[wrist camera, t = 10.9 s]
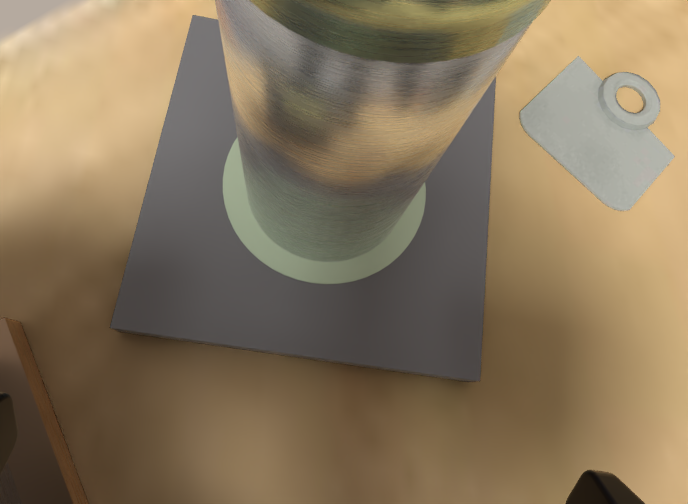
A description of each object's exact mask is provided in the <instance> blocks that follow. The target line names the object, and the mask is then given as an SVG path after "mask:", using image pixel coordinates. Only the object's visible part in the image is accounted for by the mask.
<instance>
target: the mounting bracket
mask: <svg viewBox="0 0 688 504" xmlns="http://www.w3.org/2000/svg"><path fill="white" fill-rule="evenodd" d="M622 87H628V88H632V89H633V90H635V91H636V92H638V93H639V95H640V96H641V97H642V100H643V102H644V106H643V110H642V111H641V112H640V113H631V112H628V111H626V110H624V109H623V108H622V107H621V106H620V105H619V104H618V101H617V99H616V92H617V90H618V89H619V88H622ZM659 112H660V99H659V97H658V95H657V92H656V90H655V89H654V88H653V86H652V85H651V84H650V83H649V82H648V81H647V80H645V79H644V78H642V77H641V76H639V75H636V74H633V73H629V72H622V73H615V74H613V75H611V76H609V77H608V78H606V79H604V80H603V81H602V80H601V79H600V78H599V77H598V76H597V75H596V74H595V73H594V72H593V70H592V69H591V68H590V67H589V66H588V65H587V64H586V63H585V62H584V61H583V60H582V59H581V58H580V57H579V56H578V57H577V58H576V59H575V60H574V61H573V62H572V63H570V64H569V65H568V66H567V67H566V68H565V69H564V70H563V71H562V72H561V73H560V74H559V75H558V76H557V77H556V78H555V79H554V80H553V81H552V82H551V83H550V84H548V85H547V86H546V87H545V88H544V89H543V90H542V91H541V92H540V93H539V94H538V95H537V96H536V97H535V98H534V99H533V100H532V101H531V102H530V103H529V104H528V105H526V106H525V107H524V108H523V109H522V110H521V111H520V118H519V119H520V123H521V125H522V127H523V129H524V130H525V132H526V133H527V134H528V135H529V136H530V137H531V138H532V139H533V140H534V141H535V142H537V143H538V144H539V145H540V146H541V147H542V148H543V149H544V150H545V151H546V152H547V153H549V154H550V155H551V156H552V157H553V158H554V159H555V160H556V161H557V162H558V163H560V164H561V165H562V166H563V167H564V168H565V169H566V170H567V171H568V172H569V173H571V174H572V175H573V176H574V177H575V178H576V179H577V180H578V181H579V182H580V183H581V184H583V185H584V186H585V187H586V188H587V189H588V190H589V191H590V192H591V193H592V194H594V195H595V196H596V197H597V198H598V199H599V200H600V201H601V202H602V203H604V204H605V205H607V206H608V207H610V208H612V209H614V210H618V211H627V210H630V209H631V207H632V206H633V205H634V204H635V203H636V202H637V200H638V199H639V198H640V197H641V196H642V195H643V193H644V192H645V191H646V190H647V189H648V187H649V186H650V185H651V184H652V183H653V182H654V180H655V179H656V178H657V177H658V176H659V175H660V173H661V172H662V171H663V170H664V169H665V168H666V166H667V165H668V164H669V163H670V162H671V160H672V159H673V158H674V157H675V156H674V155H673V154H672V153H671V152H670V151H669V150H668V149H667V148H666V147H665V146H664V145H663V143H662V142H661V141H660V140H659V139H658V138H657V137H656V136H655V135H654V134H653V133H652V132H651V131H650V130H649V129H648V128H647V127H648V126H650V125H651V124H653V123H654V121H655V119H656V117H657V115H658V114H659Z"/></svg>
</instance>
